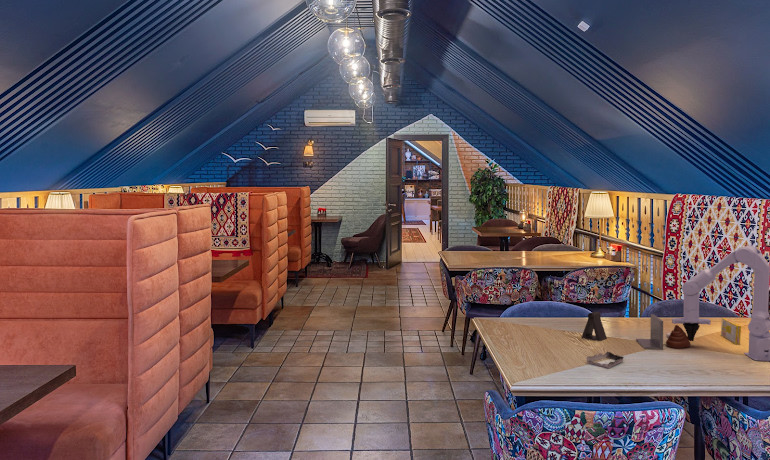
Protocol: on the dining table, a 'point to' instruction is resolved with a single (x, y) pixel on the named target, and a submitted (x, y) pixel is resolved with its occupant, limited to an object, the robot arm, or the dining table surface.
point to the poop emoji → (677, 338)
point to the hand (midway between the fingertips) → (690, 340)
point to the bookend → (654, 335)
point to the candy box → (731, 331)
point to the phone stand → (594, 327)
